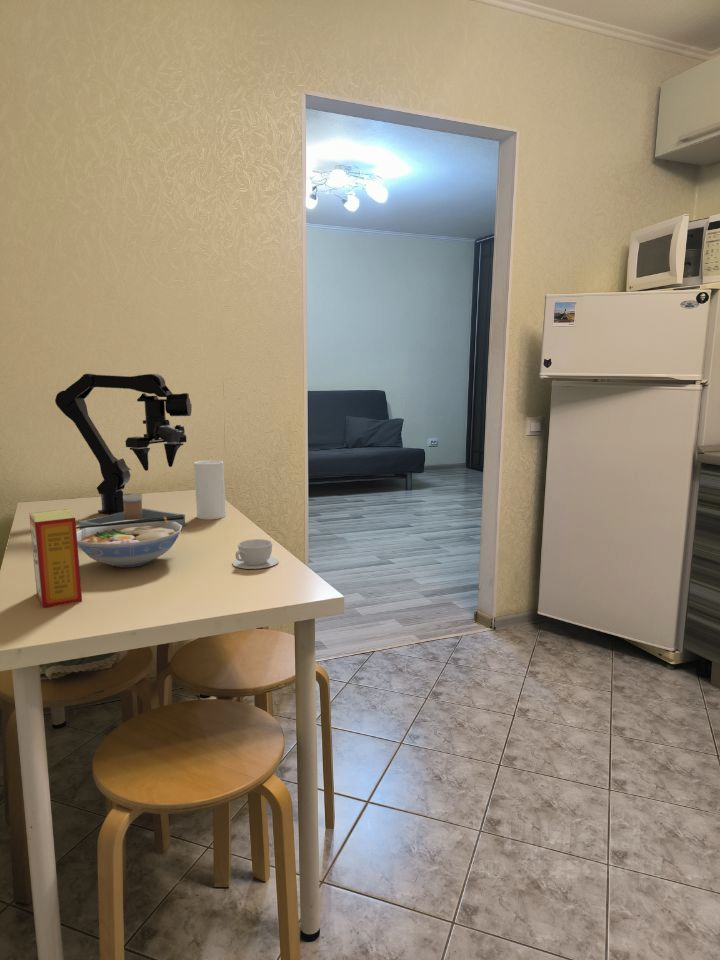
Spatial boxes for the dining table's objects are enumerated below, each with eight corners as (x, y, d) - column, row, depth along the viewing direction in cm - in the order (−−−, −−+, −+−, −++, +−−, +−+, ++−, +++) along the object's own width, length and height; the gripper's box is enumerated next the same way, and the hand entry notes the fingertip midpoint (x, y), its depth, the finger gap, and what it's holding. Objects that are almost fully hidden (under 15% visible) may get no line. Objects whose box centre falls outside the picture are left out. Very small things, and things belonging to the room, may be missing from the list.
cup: (229, 513, 195) (227, 460, 192) (220, 519, 187) (218, 463, 184) (202, 513, 196) (199, 460, 193) (192, 519, 188) (189, 463, 185)
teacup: (259, 555, 150) (258, 535, 149) (288, 563, 143) (287, 542, 143) (223, 564, 143) (222, 544, 142) (251, 574, 136) (250, 552, 135)
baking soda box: (36, 593, 125) (29, 511, 122) (73, 587, 128) (66, 507, 126) (43, 608, 117) (34, 520, 114) (82, 601, 120) (75, 515, 118)
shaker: (120, 526, 176) (118, 495, 174) (135, 523, 180) (133, 492, 178) (132, 528, 173) (130, 496, 172) (147, 525, 177) (145, 494, 176)
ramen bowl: (67, 585, 129) (63, 545, 128) (70, 556, 150) (67, 521, 149) (196, 570, 139) (194, 532, 137) (182, 544, 159) (180, 511, 158)
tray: (79, 532, 173) (79, 521, 172) (141, 518, 189) (140, 508, 189) (125, 541, 163) (124, 529, 163) (185, 525, 180) (184, 514, 180)
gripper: (148, 419, 183) (152, 474, 185) (198, 415, 198) (200, 466, 201) (122, 418, 189) (126, 472, 191) (172, 414, 204) (175, 464, 207)
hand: (158, 468), depth 197 cm, fingers open, 9 cm apart
